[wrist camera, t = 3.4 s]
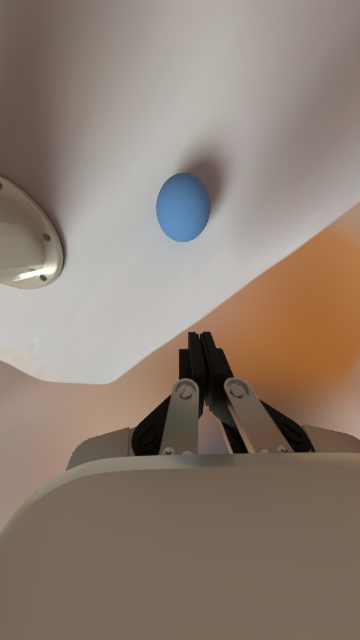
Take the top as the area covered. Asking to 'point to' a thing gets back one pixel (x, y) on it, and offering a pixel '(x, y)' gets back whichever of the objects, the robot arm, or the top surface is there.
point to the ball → (183, 207)
